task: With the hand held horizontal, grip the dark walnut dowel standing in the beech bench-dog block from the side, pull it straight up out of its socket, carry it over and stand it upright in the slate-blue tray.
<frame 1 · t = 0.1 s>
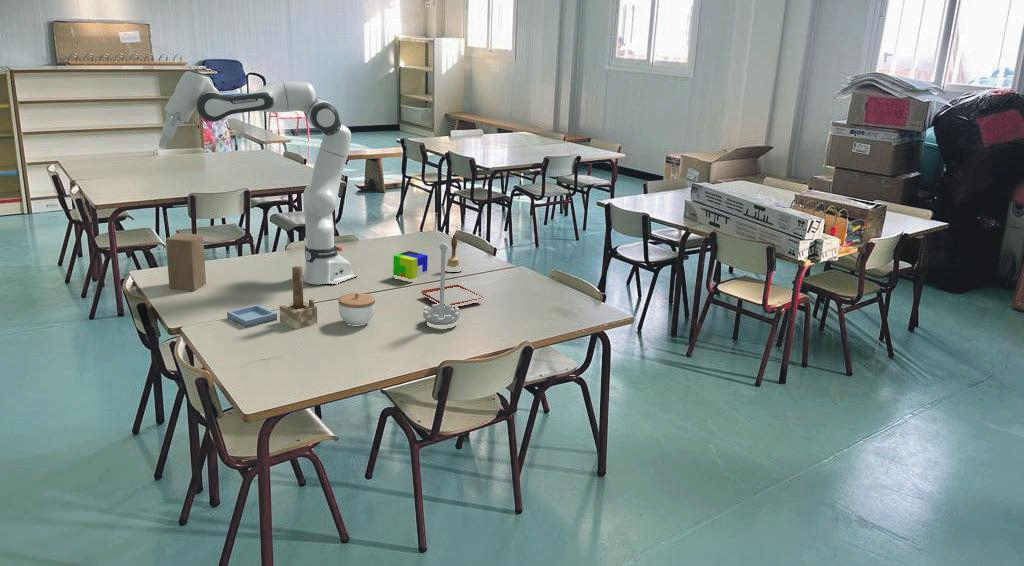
hand: (161, 145, 286), 54 cm above the table, tool tilted 30°, fingers open, 8 cm apart
wooden block: (188, 287, 304), on the table
hand bell: (452, 271, 345), on the table
puzzle toy: (410, 278, 331), on the table
tray: (252, 319, 275), on the table
dowel: (298, 317, 274), point 2 cm above the table, touching dog block
lidded bowl: (356, 323, 278), on the table
flag stand: (441, 324, 282), on the table
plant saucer: (451, 302, 307), on the table
dog block: (298, 322, 275), on the table
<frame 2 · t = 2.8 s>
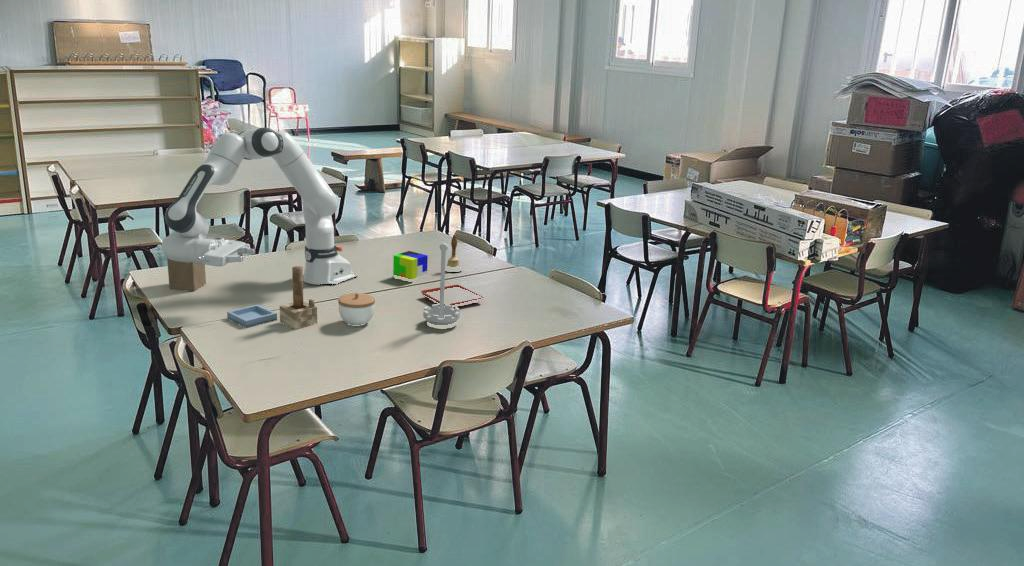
hand: (248, 255, 272), 22 cm above the table, tool horizontal, fingers open, 8 cm apart
nothing on the table moved.
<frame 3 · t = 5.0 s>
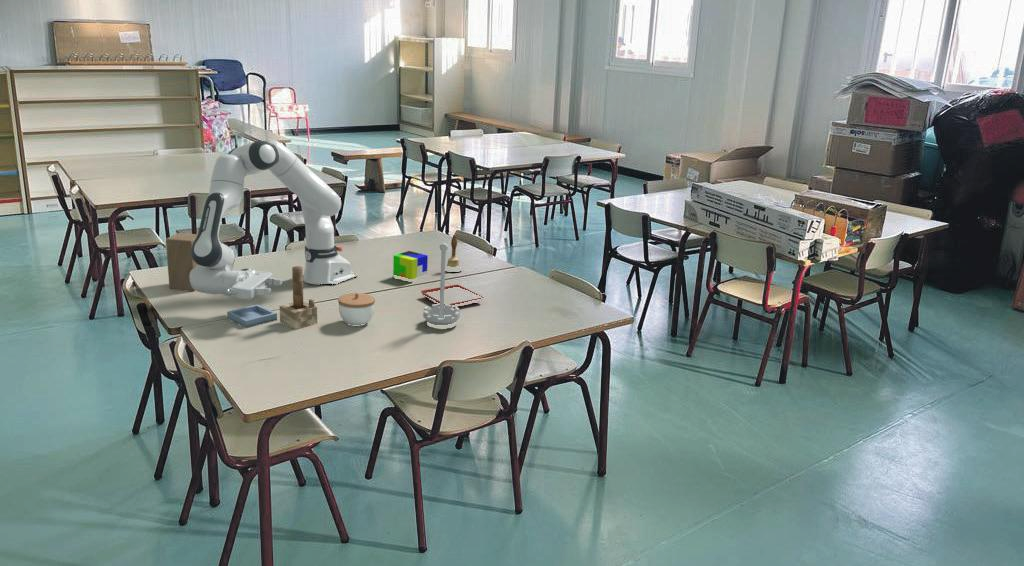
hand: (275, 286, 272), 12 cm above the table, tool horizontal, fingers open, 8 cm apart
nothing on the table moved.
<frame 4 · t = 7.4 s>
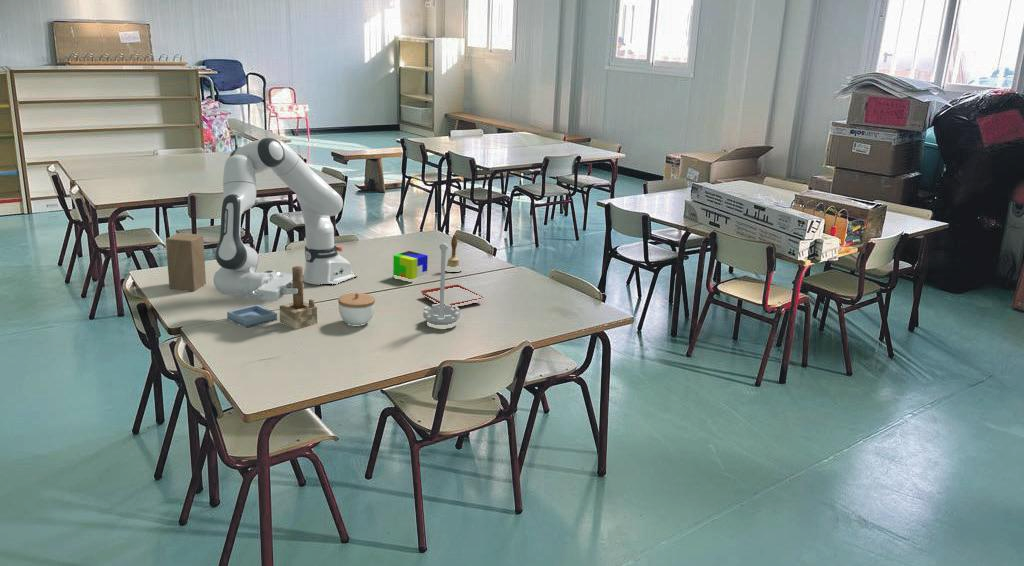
hand: (300, 288, 271), 13 cm above the table, tool horizontal, fingers closed on dowel, 3 cm apart
dowel: (298, 317, 274), point 2 cm above the table, touching dog block, gripper
everything else where it was.
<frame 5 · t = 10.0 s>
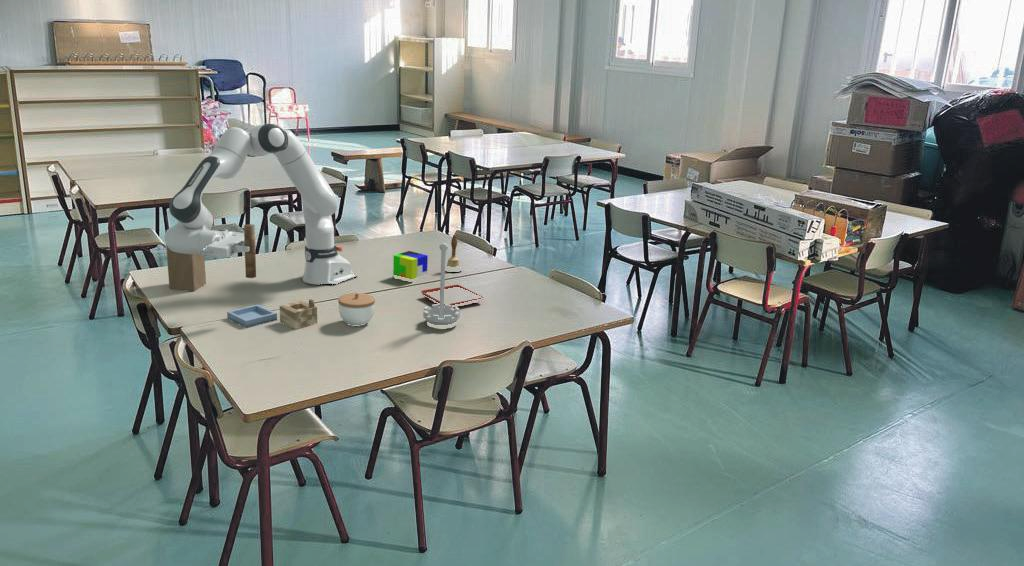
hand: (252, 247, 267), 26 cm above the table, tool horizontal, fingers closed on dowel, 3 cm apart
dowel: (250, 276, 271), point 16 cm above the table, touching gripper
everything else where it was.
when the fingers open (13 cm above the table, at t = 12.8 s): dowel drops 2 cm, resting on tray.
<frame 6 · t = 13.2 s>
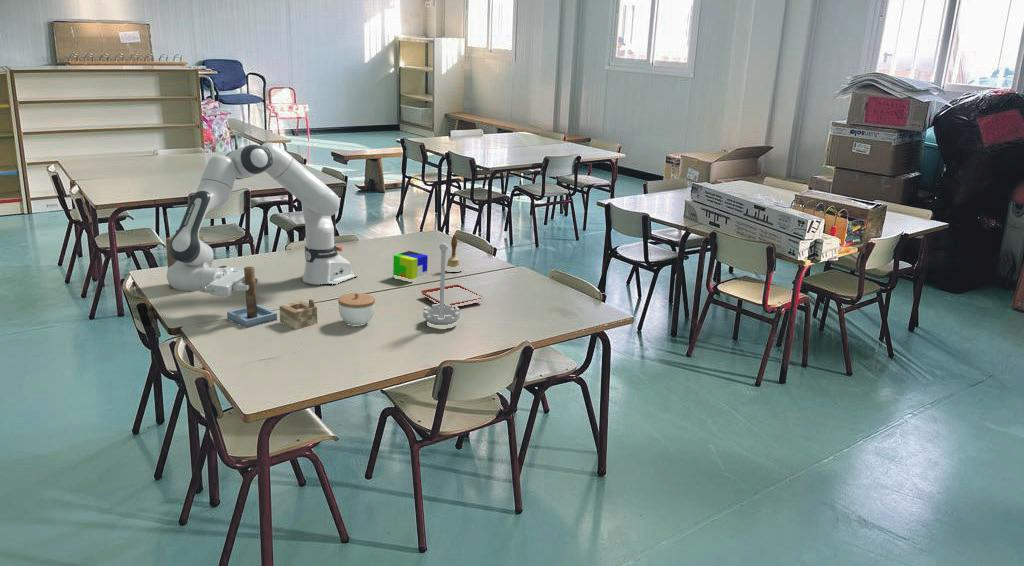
hand: (253, 284, 271), 13 cm above the table, tool horizontal, fingers open, 7 cm apart
dowel: (252, 316, 275), point 1 cm above the table, touching tray
everything else where it was.
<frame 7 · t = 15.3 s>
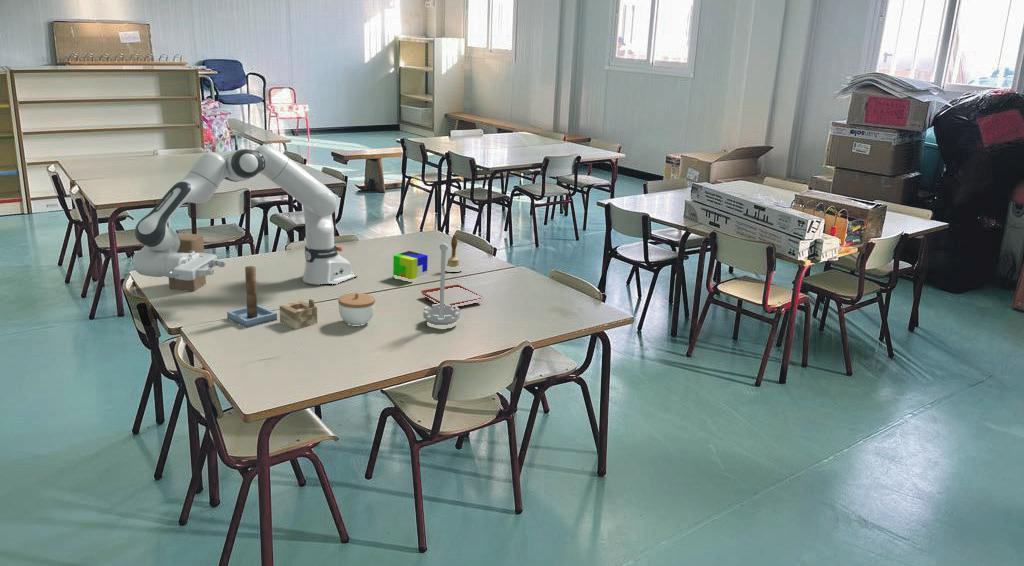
hand: (218, 268, 273), 17 cm above the table, tool horizontal, fingers open, 8 cm apart
nothing on the table moved.
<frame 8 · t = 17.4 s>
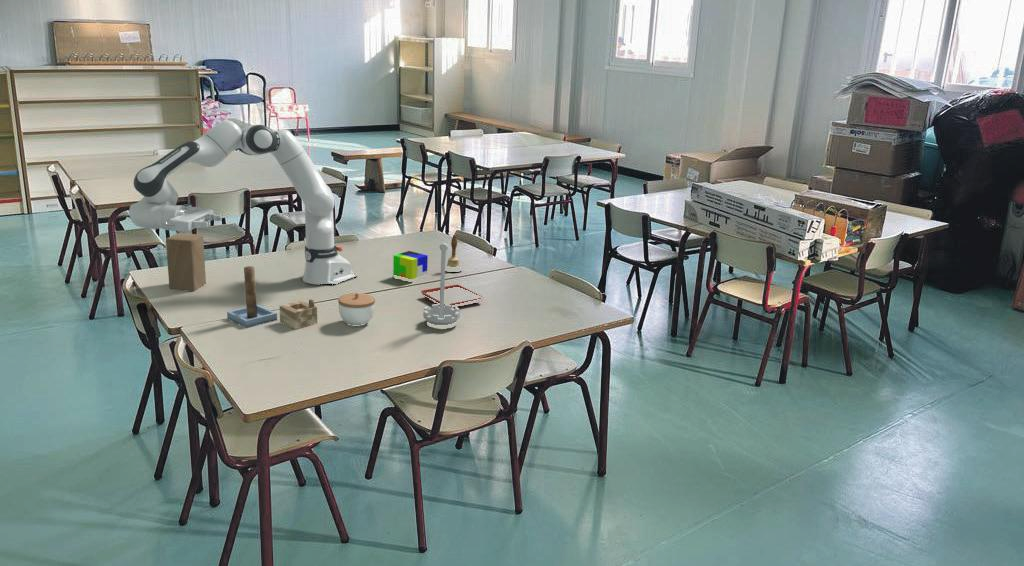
hand: (214, 221, 274), 32 cm above the table, tool horizontal, fingers open, 8 cm apart
nothing on the table moved.
at the end: dowel inside the target area on the tray (0.0 cm from its centre), point 0.8 cm above the tray's base; dowel tilted 1°; the gripper is holding nothing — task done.
